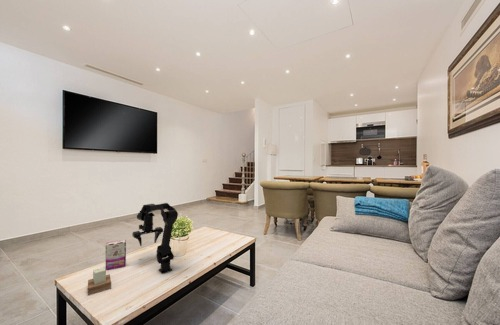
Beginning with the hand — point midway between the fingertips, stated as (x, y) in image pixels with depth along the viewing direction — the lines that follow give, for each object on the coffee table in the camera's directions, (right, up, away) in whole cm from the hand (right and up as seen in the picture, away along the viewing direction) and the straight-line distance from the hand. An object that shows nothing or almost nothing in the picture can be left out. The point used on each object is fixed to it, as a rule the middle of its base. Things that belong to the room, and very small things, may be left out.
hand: (148, 244), depth 144 cm
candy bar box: (-17, -12, -8) cm, 23 cm away
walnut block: (-12, -12, -31) cm, 35 cm away
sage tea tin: (-12, -8, -31) cm, 34 cm away
